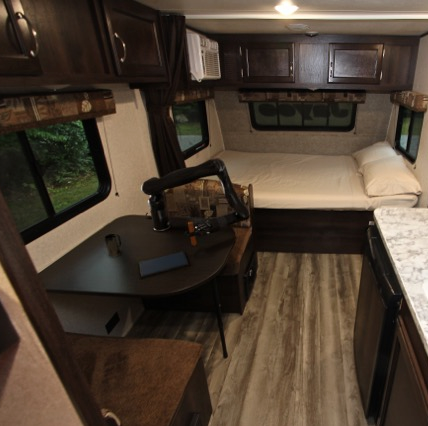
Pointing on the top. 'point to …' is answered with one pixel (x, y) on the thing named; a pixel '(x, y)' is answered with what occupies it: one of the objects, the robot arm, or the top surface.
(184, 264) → the tablet
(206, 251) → the top surface
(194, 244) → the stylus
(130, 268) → the top surface
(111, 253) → the mug
